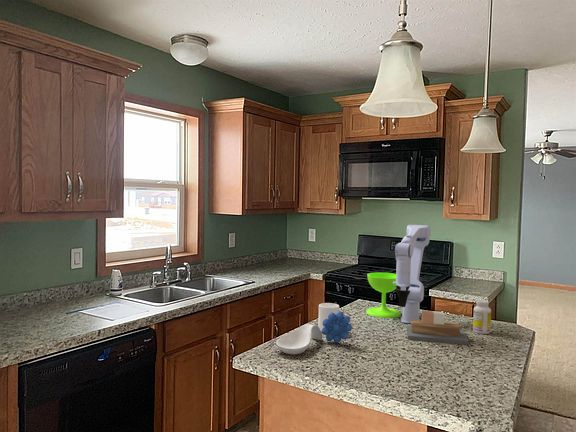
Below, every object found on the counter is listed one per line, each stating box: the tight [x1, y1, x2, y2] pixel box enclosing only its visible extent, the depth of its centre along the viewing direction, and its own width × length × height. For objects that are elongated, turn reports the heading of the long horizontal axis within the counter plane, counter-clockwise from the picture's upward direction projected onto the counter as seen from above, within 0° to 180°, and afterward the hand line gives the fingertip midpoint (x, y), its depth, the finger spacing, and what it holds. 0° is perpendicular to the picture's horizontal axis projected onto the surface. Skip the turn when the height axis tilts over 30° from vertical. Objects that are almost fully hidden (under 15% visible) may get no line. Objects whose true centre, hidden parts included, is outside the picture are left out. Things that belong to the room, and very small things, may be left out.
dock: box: [406, 325, 469, 346], centre depth 180 cm, size 14×22×2 cm, turn 77°
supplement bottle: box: [472, 299, 492, 335], centre depth 187 cm, size 7×7×13 cm
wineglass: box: [365, 272, 402, 319], centre depth 214 cm, size 16×16×18 cm
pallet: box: [410, 319, 461, 337], centre depth 180 cm, size 5×18×4 cm, turn 77°
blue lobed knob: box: [321, 311, 353, 344], centre depth 170 cm, size 12×7×12 cm, turn 70°
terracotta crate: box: [421, 310, 434, 324], centre depth 180 cm, size 4×4×4 cm
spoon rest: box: [275, 323, 323, 355], centre depth 164 cm, size 24×12×7 cm, turn 149°
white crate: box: [432, 310, 446, 325], centre depth 179 cm, size 4×4×4 cm
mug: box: [317, 302, 340, 333], centre depth 187 cm, size 12×8×10 cm
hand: (402, 304), depth 188 cm, fingers open, 7 cm apart
